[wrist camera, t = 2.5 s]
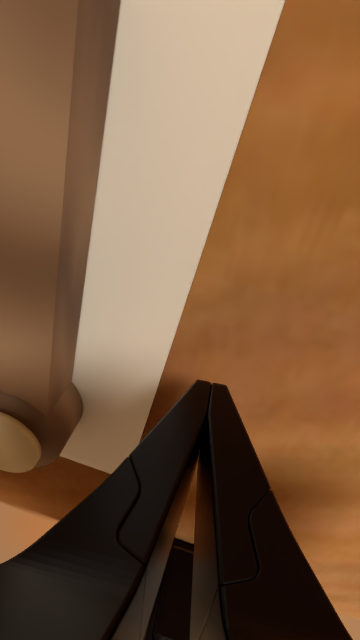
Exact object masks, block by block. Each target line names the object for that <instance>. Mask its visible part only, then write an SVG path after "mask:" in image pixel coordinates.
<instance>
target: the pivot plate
mask: <svg viewBox="0 0 360 640" xmlns="http://www.w3.org/2000/svg"><path fill="white" fill-rule="evenodd" d="M284 3H285V0H120V6H119V13H118V21H117V29H116V37H115V45H114V53H113V60H112V68H111V76H110V84H109V92H108V100H107V107H106V115H105V123H104V131H103V139H102V147H101V154H100V162H99V170H98V178H97V186H96V194H95V201H94V209H93V217H92V225H91V233H90V241H89V248H88V256H87V264H86V272H85V280H84V287H83V295H82V303H81V311H80V319H79V327H78V334H77V342H76V350H75V358H74V366H73V374H72V381H71V382H72V383H73V384H74V386H75V387H76V388H77V390H78V392H79V394H80V396H81V398H82V402H83V414H82V417H81V419H80V421H79V423H78V424H77V426H76V428H75V429H74V431H73V433H72V435H71V436H70V438H69V440H68V441H67V443H66V445H65V447H64V448H63V450H62V452H61V453H60V455H59V456H61V457H64V458H67V459H69V460H72V461H75V462H78V463H81V464H84V465H86V466H89V467H92V468H95V469H98V470H101V471H104V472H106V473H109V474H112V473H113V472H114V471H115V470H116V468H117V467H118V466H119V465H120V464H121V463H122V462H123V461H124V460H125V459H126V458H127V457H129V454H130V453H131V452H132V451H133V450H134V449H135V448H136V447H137V446H138V444H139V442H140V439H141V436H142V433H143V430H144V427H145V424H146V421H147V418H148V415H149V412H150V409H151V406H152V403H153V400H154V397H155V394H156V391H157V388H158V385H159V382H160V379H161V376H162V373H163V370H164V367H165V364H166V360H167V357H168V354H169V351H170V348H171V345H172V342H173V339H174V336H175V333H176V330H177V327H178V324H179V321H180V318H181V315H182V312H183V309H184V306H185V303H186V300H187V297H188V294H189V291H190V288H191V285H192V282H193V279H194V276H195V273H196V270H197V267H198V263H199V260H200V257H201V254H202V251H203V248H204V245H205V242H206V239H207V236H208V233H209V230H210V227H211V224H212V221H213V218H214V215H215V212H216V209H217V206H218V203H219V200H220V197H221V194H222V191H223V188H224V185H225V182H226V179H227V176H228V173H229V170H230V166H231V163H232V160H233V157H234V154H235V151H236V148H237V145H238V142H239V139H240V136H241V133H242V130H243V127H244V124H245V121H246V118H247V115H248V112H249V109H250V106H251V103H252V100H253V97H254V94H255V91H256V88H257V85H258V82H259V79H260V76H261V73H262V69H263V66H264V63H265V60H266V57H267V54H268V51H269V48H270V45H271V42H272V39H273V36H274V33H275V30H276V27H277V24H278V21H279V18H280V15H281V12H282V9H283V6H284ZM40 457H41V446H40V444H39V441H38V440H37V438H36V437H35V435H34V434H33V433H32V432H31V430H29V429H28V428H27V427H26V426H25V425H24V424H23V423H21V422H20V421H18V420H17V419H15V418H13V417H11V416H9V415H7V414H5V413H2V412H0V470H2V471H6V472H12V473H23V472H27V471H30V470H31V469H33V468H34V467H35V465H36V464H37V462H38V460H39V459H40Z"/></svg>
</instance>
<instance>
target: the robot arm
mask: <svg viewBox="0 0 360 640" xmlns="http://www.w3.org/2000/svg"><path fill="white" fill-rule="evenodd" d="M199 450H200V451H199ZM198 455H199V458H198ZM197 460H198V469H197V491H196V512H195V534H194V547H193V546H190V545H188V544H185V543H182V542H179V541H176V540H174V537H175V533H176V530H177V527H178V523H179V520H180V517H181V514H182V510H183V507H184V504H185V500H186V497H187V494H188V491H189V487H190V484H191V481H192V478H193V474H194V471H195V468H196V464H197ZM0 640H353V639H352V638H351V636H350V635H349V633H348V632H347V630H346V628H345V627H344V625H343V623H342V622H341V620H340V618H339V616H338V615H337V613H336V611H335V609H334V608H333V606H332V604H331V602H330V600H329V599H328V597H327V595H326V593H325V592H324V590H323V588H322V586H321V584H320V583H319V581H318V579H317V577H316V576H315V574H314V572H313V570H312V569H311V567H310V565H309V563H308V561H307V560H306V558H305V556H304V554H303V553H302V551H301V549H300V547H299V545H298V543H297V541H296V539H295V538H294V536H293V534H292V532H291V530H290V528H289V526H288V524H287V522H286V520H285V518H284V516H283V513H282V511H281V509H280V507H279V505H278V503H277V500H276V498H275V496H274V493H273V491H272V490H271V487H270V484H269V482H268V480H267V477H266V475H265V473H264V471H263V468H262V466H261V464H260V461H259V459H258V457H257V454H256V452H255V450H254V448H253V445H252V443H251V441H250V438H249V436H248V434H247V431H246V429H245V427H244V425H243V422H242V420H241V418H240V415H239V413H238V411H237V408H236V406H235V404H234V402H233V399H232V397H231V395H230V392H229V390H228V388H227V386H226V385H223V384H218V383H212V385H211V383H210V382H208V381H203V380H197V381H195V383H194V384H193V385H192V386H191V387H190V388H189V389H188V390H187V391H186V392H185V394H184V395H183V396H182V397H181V398H180V399H179V400H178V401H177V402H176V404H175V405H174V406H173V407H172V408H171V409H170V410H169V411H168V412H167V413H166V415H165V416H164V417H163V418H162V419H161V420H160V421H159V422H158V423H157V425H156V426H155V427H154V428H153V429H152V430H151V431H150V432H149V433H148V434H147V436H146V437H145V438H144V439H143V440H142V441H141V442H140V443H139V444H138V446H137V447H136V448H135V449H134V450H133V451H132V452H131V453H130V454H129V457H127V458H126V459H125V460H124V461H123V462H122V463H121V464H120V465H119V466H118V467H117V468H116V470H115V471H114V472H113V473H112V474H111V475H110V476H109V477H108V478H107V479H106V480H105V481H104V482H103V483H102V484H101V485H100V486H99V487H97V488H96V489H95V490H94V491H93V492H92V493H91V494H90V495H89V496H88V497H87V498H85V499H84V500H83V501H82V502H81V503H80V504H79V505H77V506H76V507H75V508H74V509H73V510H72V511H70V512H69V513H68V514H67V515H66V516H65V517H64V518H62V519H61V520H60V521H59V522H58V523H57V524H56V525H54V526H53V527H52V528H51V529H50V530H49V531H47V532H46V533H45V534H44V535H43V536H42V537H41V538H39V539H38V540H37V541H36V542H35V543H33V544H32V545H31V546H29V547H28V548H27V549H25V550H24V551H23V552H21V553H19V554H18V555H16V556H15V557H13V558H11V559H9V560H8V561H6V562H4V563H2V564H0Z"/></svg>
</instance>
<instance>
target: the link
mask: <svg viewBox="0 0 360 640" xmlns="http://www.w3.org/2000/svg"><path fill="white" fill-rule="evenodd" d="M119 6H120V0H0V412H2V413H5V414H7V415H9V416H11V417H13V418H15V419H17V420H18V421H20V422H21V423H23V424H24V425H25V426H26V427H27V428H28V429H29V430H31V432H32V433H33V434H34V435H35V437H36V438H37V440H38V441H39V444H40V446H41V457H40V459H39V460H38V462H37V464H36V465H35V467H43V466H47V465H49V464H51V463H53V462H54V461H55V460H56V459H57V458H58V457H59V455H60V453H61V452H62V450H63V448H64V447H65V445H66V443H67V441H68V440H69V438H70V436H71V435H72V433H73V431H74V429H75V428H76V426H77V424H78V423H79V421H80V419H81V417H82V414H83V402H82V398H81V396H80V394H79V392H78V390H77V388H76V387H75V386H74V384H73V383H72V382H71V381H72V374H73V366H74V358H75V350H76V342H77V334H78V327H79V319H80V311H81V303H82V295H83V287H84V280H85V272H86V264H87V256H88V248H89V241H90V233H91V225H92V217H93V209H94V201H95V194H96V186H97V178H98V170H99V162H100V154H101V147H102V139H103V131H104V123H105V115H106V107H107V100H108V92H109V84H110V76H111V68H112V60H113V53H114V45H115V37H116V29H117V21H118V13H119Z"/></svg>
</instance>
